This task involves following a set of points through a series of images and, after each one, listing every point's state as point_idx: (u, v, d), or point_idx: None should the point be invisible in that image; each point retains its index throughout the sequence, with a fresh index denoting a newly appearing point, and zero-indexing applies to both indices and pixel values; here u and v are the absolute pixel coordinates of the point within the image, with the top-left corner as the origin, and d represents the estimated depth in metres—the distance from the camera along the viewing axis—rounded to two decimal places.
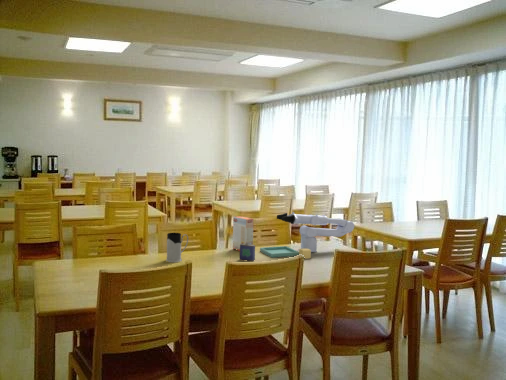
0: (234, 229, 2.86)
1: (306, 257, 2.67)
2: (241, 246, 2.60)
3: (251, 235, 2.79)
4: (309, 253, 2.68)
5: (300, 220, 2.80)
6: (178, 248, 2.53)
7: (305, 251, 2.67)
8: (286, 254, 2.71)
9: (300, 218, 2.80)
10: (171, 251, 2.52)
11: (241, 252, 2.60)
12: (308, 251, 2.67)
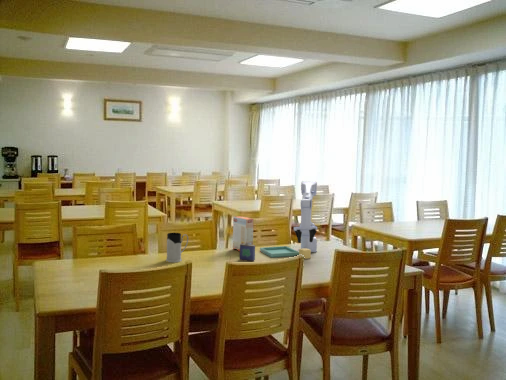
0: (234, 229, 2.86)
1: (306, 257, 2.67)
2: (241, 246, 2.60)
3: (251, 235, 2.79)
4: (309, 253, 2.68)
5: None
6: (178, 248, 2.53)
7: (305, 251, 2.67)
8: (286, 254, 2.71)
9: None
10: (171, 251, 2.52)
11: (241, 252, 2.60)
12: (308, 251, 2.67)
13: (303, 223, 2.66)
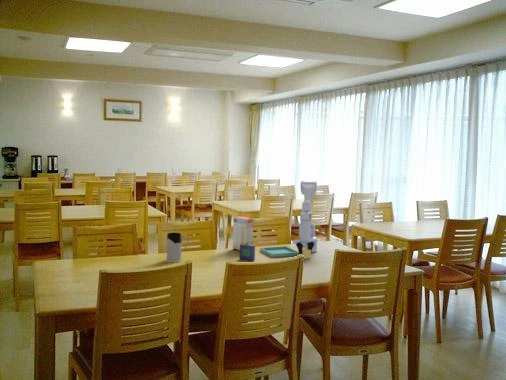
0: (234, 229, 2.86)
1: (306, 257, 2.67)
2: (241, 246, 2.60)
3: (251, 235, 2.79)
4: (309, 253, 2.68)
5: None
6: (178, 248, 2.53)
7: (305, 251, 2.67)
8: (286, 254, 2.71)
9: None
10: (171, 251, 2.52)
11: (241, 252, 2.60)
12: (308, 251, 2.67)
13: (303, 236, 2.66)
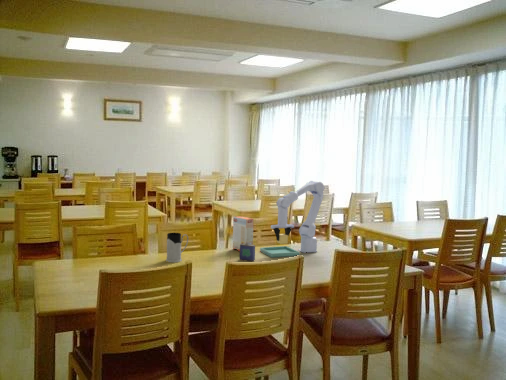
0: (234, 229, 2.86)
1: (283, 242, 2.75)
2: (241, 246, 2.60)
3: (251, 235, 2.79)
4: (286, 238, 2.76)
5: None
6: (178, 248, 2.53)
7: (282, 236, 2.74)
8: (286, 254, 2.71)
9: None
10: (171, 251, 2.52)
11: (241, 252, 2.60)
12: (285, 236, 2.75)
13: (280, 221, 2.74)
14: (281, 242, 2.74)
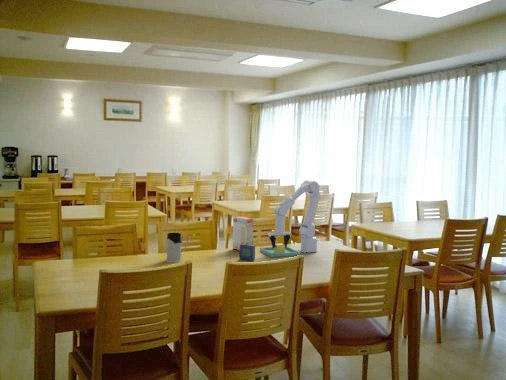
0: (234, 229, 2.86)
1: (280, 252, 2.76)
2: (241, 246, 2.60)
3: (251, 235, 2.79)
4: (283, 248, 2.77)
5: None
6: (178, 248, 2.53)
7: (279, 246, 2.76)
8: (286, 254, 2.71)
9: None
10: (171, 251, 2.52)
11: (241, 252, 2.60)
12: (282, 246, 2.77)
13: (277, 229, 2.76)
14: (278, 252, 2.76)
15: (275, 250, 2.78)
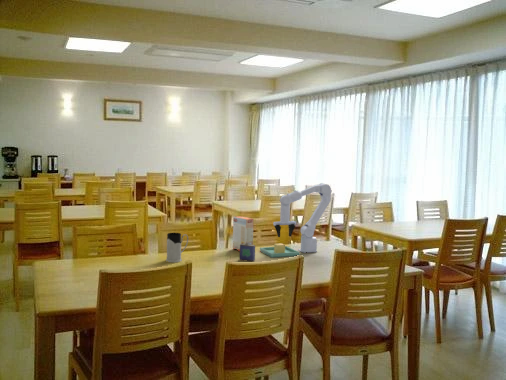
0: (234, 229, 2.86)
1: (280, 252, 2.76)
2: (241, 246, 2.60)
3: (251, 235, 2.79)
4: (283, 248, 2.77)
5: None
6: (178, 248, 2.53)
7: (279, 246, 2.76)
8: (286, 254, 2.71)
9: None
10: (171, 251, 2.52)
11: (241, 252, 2.60)
12: (282, 246, 2.77)
13: (282, 218, 2.81)
14: (278, 252, 2.76)
15: (275, 250, 2.78)
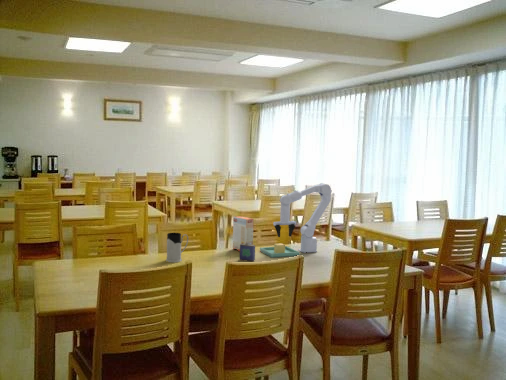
0: (234, 229, 2.86)
1: (280, 252, 2.76)
2: (241, 246, 2.60)
3: (251, 235, 2.79)
4: (283, 248, 2.77)
5: None
6: (178, 248, 2.53)
7: (279, 246, 2.76)
8: (286, 254, 2.71)
9: None
10: (171, 251, 2.52)
11: (241, 252, 2.60)
12: (282, 246, 2.77)
13: (282, 218, 2.81)
14: (278, 252, 2.76)
15: (275, 250, 2.78)
